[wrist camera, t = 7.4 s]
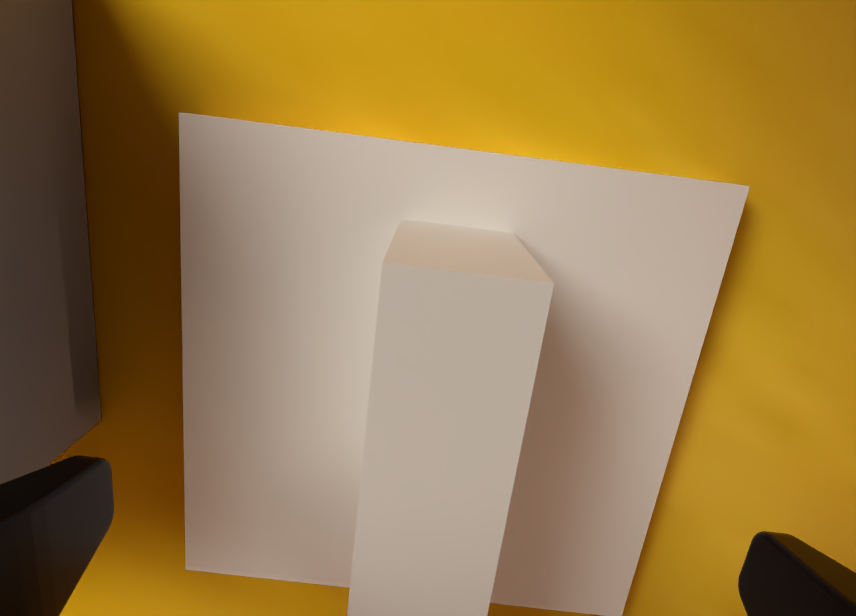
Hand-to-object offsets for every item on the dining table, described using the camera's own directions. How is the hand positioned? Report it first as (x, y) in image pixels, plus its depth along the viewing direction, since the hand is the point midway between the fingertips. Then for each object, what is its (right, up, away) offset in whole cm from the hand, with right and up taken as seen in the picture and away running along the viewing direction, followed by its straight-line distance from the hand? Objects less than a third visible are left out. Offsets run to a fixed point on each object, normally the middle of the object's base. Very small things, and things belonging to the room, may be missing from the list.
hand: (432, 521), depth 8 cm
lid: (0, +2, +4) cm, 5 cm away
